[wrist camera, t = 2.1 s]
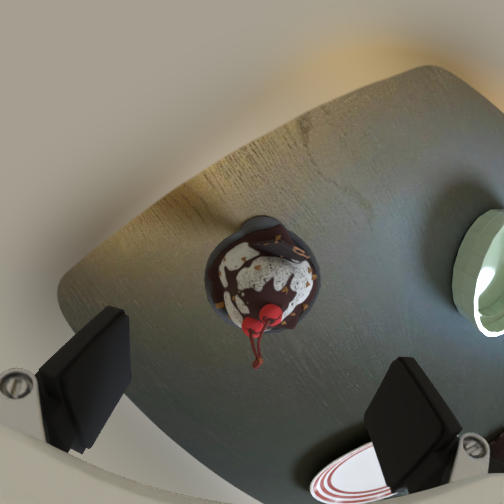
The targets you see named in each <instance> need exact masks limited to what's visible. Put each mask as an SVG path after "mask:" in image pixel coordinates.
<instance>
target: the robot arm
mask: <svg viewBox="0 0 504 504" xmlns="http://www.w3.org/2000/svg"><path fill="white" fill-rule="evenodd" d="M130 381H131V362H130V339H129V317H128V315H125V312H124V310H122V309H119V308H115V307H112V306H107V307H106V308H105V309H103V310H102V311H101V312H100V313H99V314H98V315H97V316H95V317H94V318H93V319H92V320H91V321H90V322H89V323H88V324H87V325H85V326H84V327H83V328H82V329H81V330H80V331H79V332H78V333H77V334H76V335H74V336H73V337H72V338H71V339H70V340H69V341H68V342H67V343H66V344H65V345H64V346H63V347H62V348H60V349H59V351H57V352H56V353H55V354H54V355H53V356H52V357H51V358H50V359H49V360H48V361H47V362H46V363H45V364H44V365H43V366H42V367H41V368H40V369H39V371H38V372H37V373H36V374H35V375H34V374H33V373H31V372H30V371H28V370H26V369H23V368H11V369H8V370H5V371H3V372H2V373H1V374H0V504H230V503H223V502H217V501H211V500H205V499H200V498H195V497H190V496H185V495H181V494H177V493H172V492H169V491H165V490H162V489H158V488H155V487H151V486H148V485H145V484H142V483H138V482H136V481H133V480H130V479H127V478H125V477H122V476H119V475H116V474H114V473H111V472H108V471H106V470H103V469H101V468H99V467H96V466H94V465H91V464H89V463H87V462H85V461H83V460H81V459H78V458H76V457H74V456H72V455H70V454H68V452H69V450H70V448H71V449H73V450H75V451H77V452H79V453H81V454H83V452H84V451H85V449H86V448H88V449H90V448H91V447H92V445H93V444H94V442H95V441H96V438H97V437H98V435H99V434H100V432H101V430H102V429H103V427H104V425H105V423H106V422H107V420H108V418H109V417H110V415H111V413H112V412H113V410H114V408H115V406H116V405H117V403H118V402H119V400H120V398H121V396H122V395H123V393H124V392H125V390H126V388H127V387H128V385H129V383H130ZM364 421H365V424H366V427H367V429H368V432H369V435H370V438H371V441H372V444H373V447H374V450H375V453H376V456H377V459H378V462H379V465H380V468H381V471H382V474H383V477H384V480H385V483H386V486H387V487H390V490H391V493H392V494H395V493H399V492H404V491H405V490H406V489H408V492H409V493H408V495H405V496H400V497H396V498H391V499H386V500H380V501H374V502H368V503H361V504H504V463H503V462H501V461H498V460H496V459H493V458H491V457H490V448H489V445H488V443H487V442H486V440H485V439H484V438H483V437H482V436H480V435H478V434H476V433H465V434H463V435H462V436H461V437H460V438H458V436H457V435H458V434H459V433H460V431H461V430H462V427H461V425H460V424H459V422H458V421H457V419H456V418H455V416H454V415H453V413H452V412H451V410H450V409H449V407H448V406H447V404H446V403H445V401H444V400H443V398H442V397H441V396H440V394H439V393H438V391H437V390H436V388H435V387H434V385H433V384H432V383H431V381H430V380H429V378H428V377H427V376H426V374H425V373H424V371H423V370H422V369H421V367H420V366H419V365H418V363H417V362H416V360H415V359H414V358H412V357H398V358H397V359H396V360H395V361H393V362H392V363H391V365H390V367H389V369H388V371H387V373H386V375H385V377H384V379H383V381H382V383H381V385H380V387H379V389H378V390H377V392H376V394H375V396H374V398H373V400H372V401H371V403H370V405H369V406H368V408H367V410H366V412H365V415H364Z"/></svg>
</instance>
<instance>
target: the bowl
mask: <svg viewBox="0 0 504 504" xmlns="http://www.w3.org/2000/svg"><path fill="white" fill-rule="evenodd" d="M452 291H453V300H454V303H455V305H456V307H457V309H458V312H459V313H460V314H461V315H462V316H463V317H464V318H465V319H467V320H468V321H469V322H470V323H471V324H472V325H474V326H475V327H476V328H477V329H478V330H479V331H481V332H482V333H483V334H484V335H486V336H494V337H496V336H499V335H501V334H503V333H504V209H491V210H489V211H487V212H486V213H484V214H483V215H481V216H479V217H478V219H477V220H476V221H475V222H474V223H473V225H472V226H471V227H470V228H469V230H468V231H467V233H466V235H465V237H464V239H463V241H462V243H461V245H460V247H459V251H458V254H457V258H456V261H455V264H454V269H453V279H452Z"/></svg>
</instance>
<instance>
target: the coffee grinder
mask: <svg viewBox="0 0 504 504" xmlns="http://www.w3.org/2000/svg"><path fill="white" fill-rule="evenodd" d="M488 445H489V448H490V457H491V458H493V459H496V460H498V461H501V462H503V463H504V431H503V432H502V433H501V434H500V435H499V436H497V437H496V438H495V439H494V440H493V441H492V442H491V443H490V444H488Z"/></svg>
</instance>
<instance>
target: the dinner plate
mask: <svg viewBox="0 0 504 504" xmlns="http://www.w3.org/2000/svg"><path fill="white" fill-rule="evenodd" d="M457 436H458V435H457ZM310 493H311V494H312V496H313V497H314V498H316V499H317V500H319V501H321V502H324V503H328V504H361V503H367V502H372V501H376V500H379V499H383V498H386V497H389V496H392V495H394V494H392V493H391V490H390V487H387V486H386V483H385V480H384V477H383V474H382V471H381V468H380V465H379V462H378V459H377V456H376V453H375V450H374V447H373V444H372V441H371V442H369V443H366V444H364V445H362V446H360V447H358V448H356V449H354V450H352V451H350V452H348V453H346V454H344V455H343V456H341V457H339V458H338V459H336V460H334V461H333V462H331V463H330V464H328V465H327V466H326V467H324V468H323V469H322V470H321V471H320V472H319V473H318V474H317V475H316V476H315V477H314V479H313V480H312V482H311V484H310ZM395 494H397V493H395Z"/></svg>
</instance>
